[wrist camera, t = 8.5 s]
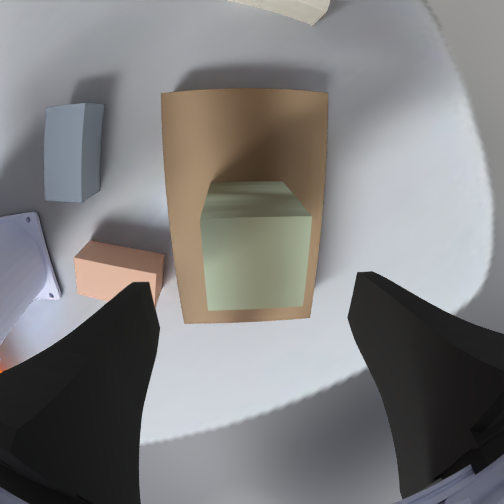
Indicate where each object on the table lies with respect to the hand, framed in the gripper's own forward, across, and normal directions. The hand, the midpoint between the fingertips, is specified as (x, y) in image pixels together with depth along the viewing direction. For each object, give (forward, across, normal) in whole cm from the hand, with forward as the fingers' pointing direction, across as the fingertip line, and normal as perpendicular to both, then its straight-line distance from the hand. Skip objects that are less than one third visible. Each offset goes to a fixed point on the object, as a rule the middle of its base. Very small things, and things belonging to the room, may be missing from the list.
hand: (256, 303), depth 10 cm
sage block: (+8, 0, 0) cm, 8 cm away
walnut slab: (+10, 0, 0) cm, 10 cm away
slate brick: (+10, +11, -5) cm, 16 cm away
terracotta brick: (+10, +9, +4) cm, 14 cm away
